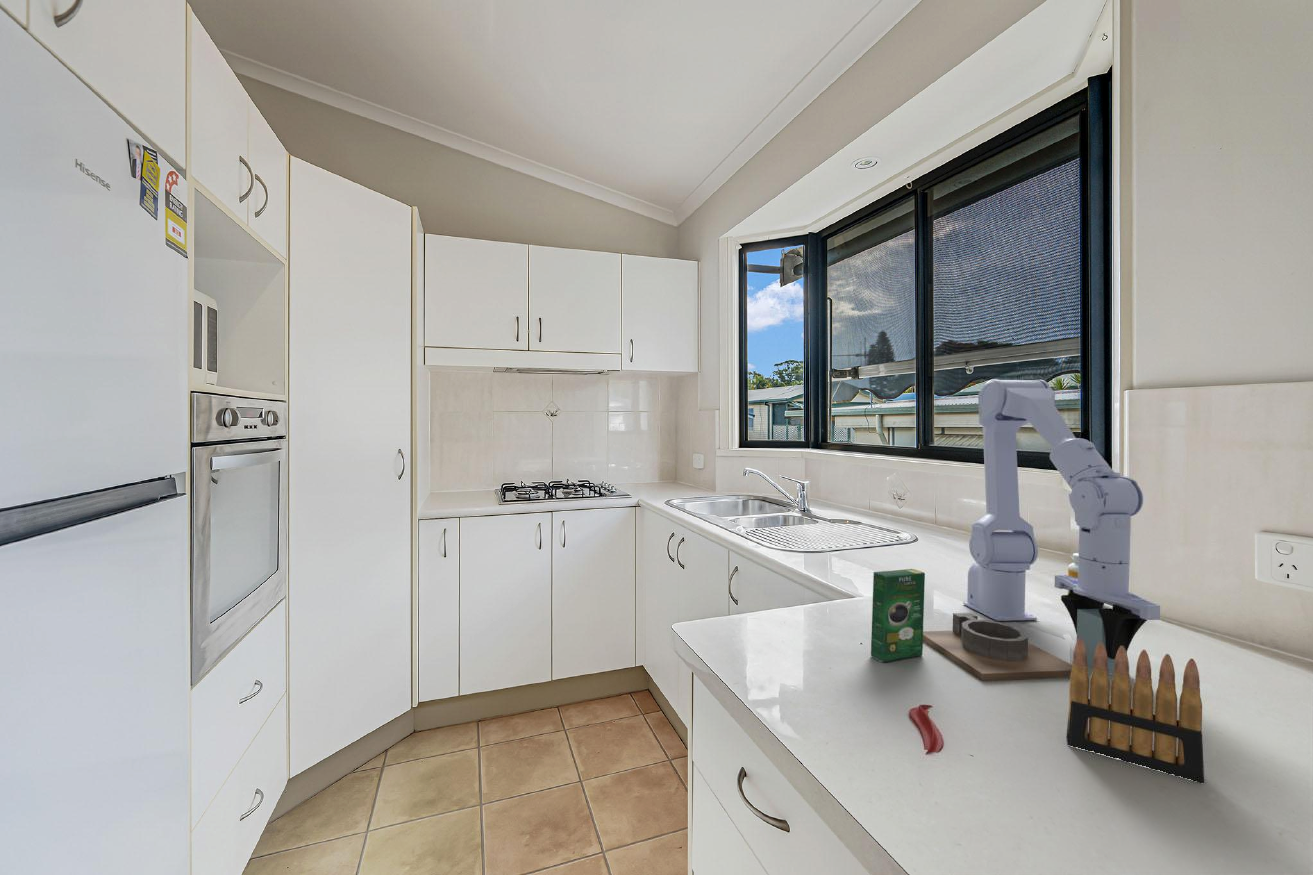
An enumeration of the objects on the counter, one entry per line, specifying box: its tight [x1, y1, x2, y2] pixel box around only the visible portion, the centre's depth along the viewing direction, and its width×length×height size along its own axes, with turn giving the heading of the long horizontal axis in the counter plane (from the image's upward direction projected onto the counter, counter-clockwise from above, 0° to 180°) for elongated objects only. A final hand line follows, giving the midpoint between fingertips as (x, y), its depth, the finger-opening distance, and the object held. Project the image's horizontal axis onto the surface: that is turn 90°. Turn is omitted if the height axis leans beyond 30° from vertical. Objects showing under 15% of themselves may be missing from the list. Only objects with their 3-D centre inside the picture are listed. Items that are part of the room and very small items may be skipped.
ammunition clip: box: [1066, 638, 1205, 785], centre depth 56 cm, size 11×2×12 cm, turn 55°
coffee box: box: [870, 568, 926, 663], centre depth 80 cm, size 8×3×13 cm, turn 110°
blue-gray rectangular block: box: [1076, 607, 1115, 675], centre depth 77 cm, size 4×4×8 cm
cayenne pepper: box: [908, 704, 944, 755], centre depth 61 cm, size 12×5×2 cm, turn 142°
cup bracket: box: [923, 612, 1072, 682], centre depth 81 cm, size 15×15×4 cm
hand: (1101, 651), depth 77 cm, fingers closed on blue-gray rectangular block, 4 cm apart
